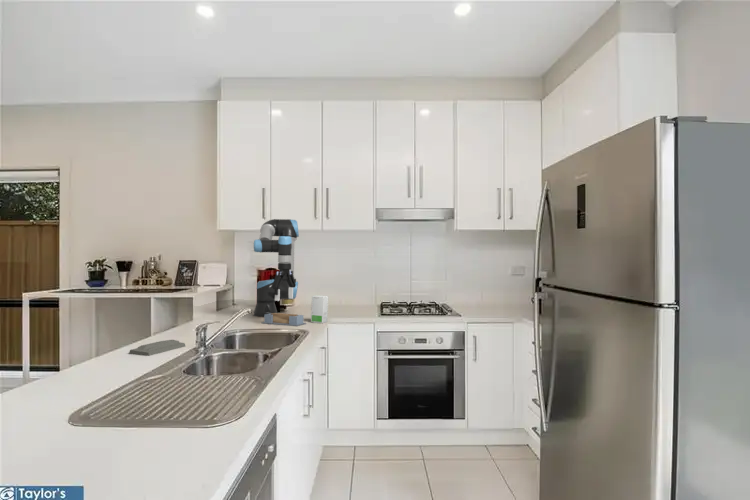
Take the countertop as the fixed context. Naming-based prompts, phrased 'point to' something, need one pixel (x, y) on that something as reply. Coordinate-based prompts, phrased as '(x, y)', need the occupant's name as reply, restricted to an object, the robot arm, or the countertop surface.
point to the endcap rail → (292, 322)
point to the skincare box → (319, 309)
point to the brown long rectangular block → (281, 317)
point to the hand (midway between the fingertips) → (284, 299)
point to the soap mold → (157, 347)
